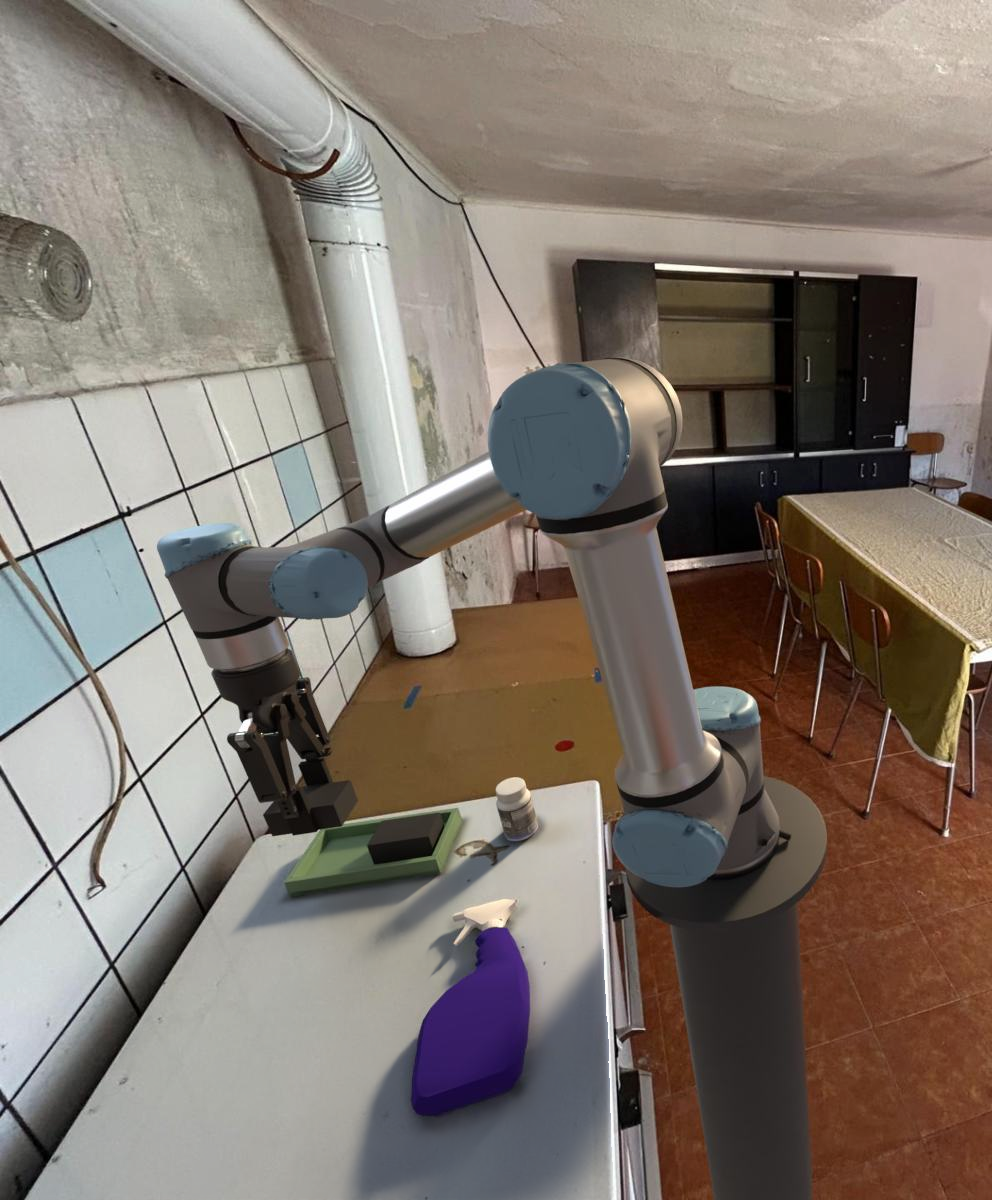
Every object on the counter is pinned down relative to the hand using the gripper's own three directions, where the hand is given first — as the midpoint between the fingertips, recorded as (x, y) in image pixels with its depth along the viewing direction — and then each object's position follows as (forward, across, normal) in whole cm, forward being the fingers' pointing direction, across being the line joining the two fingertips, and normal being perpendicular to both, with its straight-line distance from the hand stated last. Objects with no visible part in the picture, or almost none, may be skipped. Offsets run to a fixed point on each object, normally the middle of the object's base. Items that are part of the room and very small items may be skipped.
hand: (316, 815), depth 85 cm
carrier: (+12, -4, +3) cm, 13 cm away
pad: (+11, -4, +7) cm, 14 cm away
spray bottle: (+12, +21, +23) cm, 33 cm away
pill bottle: (+12, -5, +22) cm, 26 cm away
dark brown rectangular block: (0, 0, 0) cm, 0 cm away
